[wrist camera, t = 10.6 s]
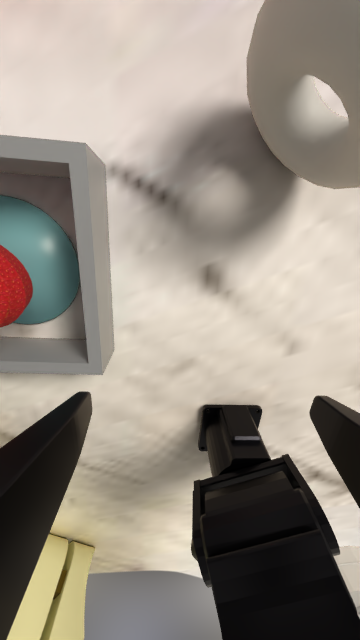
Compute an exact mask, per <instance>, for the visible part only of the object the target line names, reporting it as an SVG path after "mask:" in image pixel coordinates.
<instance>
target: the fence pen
mask: <svg viewBox="0 0 360 640" xmlns="http://www.w3.org/2000/svg"><path fill="white" fill-rule="evenodd" d="M0 172H4V173H16V174H28V175H40V176H52V177H64V178H70V180H71V190H72V200H73V210H74V220H75V230H76V241H77V251H78V258H77V255H76V252H75V250H74V247H73V245H72V243H71V241H70V240H69V238H68V236H67V235H66V233H65V232H64V231H63V229H62V228H61V227H60V226H59V225H58V224H57V223H56V221H54V220H53V219H52V218H51V217H50V216H49V215H48V214H46V213H45V212H43V211H42V210H41V209H39V208H37V207H36V206H34V205H32V204H30V203H27V202H25V201H23V200H20V199H16V198H12V197H8V196H1V195H0V245H1V246H3V247H4V248H6V249H7V250H9V251H10V252H11V253H12V254H13V255H14V256H16V257H17V259H18V260H19V261H20V262H21V263H22V264H23V265H24V267H25V269H26V270H27V272H28V273H29V276H30V278H31V281H32V286H33V295H32V298H31V301H30V303H29V304H28V306H27V307H26V308H25V310H24V311H23V313H22V314H21V315H20V316H19V317H18V318H17V320H15V321H14V323H20V324H36V323H42V322H45V321H49V320H51V319H53V318H55V317H57V316H58V315H60V314H61V313H62V312H64V311H65V310H66V309H67V308H68V307H69V306H70V304H71V303H72V301H73V300H74V298H75V296H76V294H77V291H78V287H79V281H81V291H82V301H83V312H84V322H85V332H86V340H78V339H49V338H20V337H0V372H3V373H46V374H88V375H103V373H104V371H105V369H106V367H107V365H108V362H109V360H110V358H111V356H112V354H113V352H114V334H113V314H112V293H111V273H110V252H109V232H108V211H107V191H106V171H105V164H104V163H103V162H102V161H101V160H100V158H99V157H98V156H97V155H96V154H95V153H94V152H93V151H92V150H91V148H90V147H89V146H88V145H87V144H86V143H80V142H70V141H59V140H49V139H38V138H28V137H17V136H7V135H0ZM78 261H79V262H78Z"/></svg>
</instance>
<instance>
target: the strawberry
mask: <svg viewBox="0 0 360 640" xmlns="http://www.w3.org/2000/svg"><path fill="white" fill-rule="evenodd" d="M32 295H33V286H32V281H31V278H30V276H29V273H28V272H27V270H26V269H25V267H24V265H23V264H22V263H21V262H20V261H19V260H18V259H17V257H16V256H14V255H13V254H12V253H11V252H10V251H9V250H7V249H6V248H4V247H3V246H1V245H0V327H3V326H6V325H9V324H11V323H12V322H14V321H15V320H17V318H18V317H19V316H20V315H21V314H22V313H23V311H24V310H25V308H26V307H27V306H28V304H29V303H30V301H31V298H32Z"/></svg>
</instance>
